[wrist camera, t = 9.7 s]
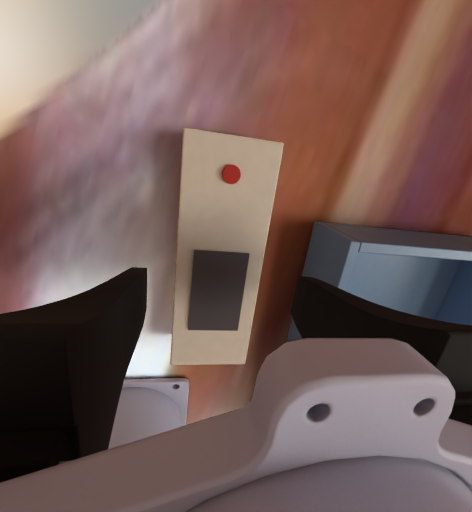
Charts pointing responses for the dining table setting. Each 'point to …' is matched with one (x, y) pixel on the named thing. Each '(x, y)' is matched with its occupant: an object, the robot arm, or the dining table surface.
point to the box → (394, 269)
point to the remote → (220, 243)
